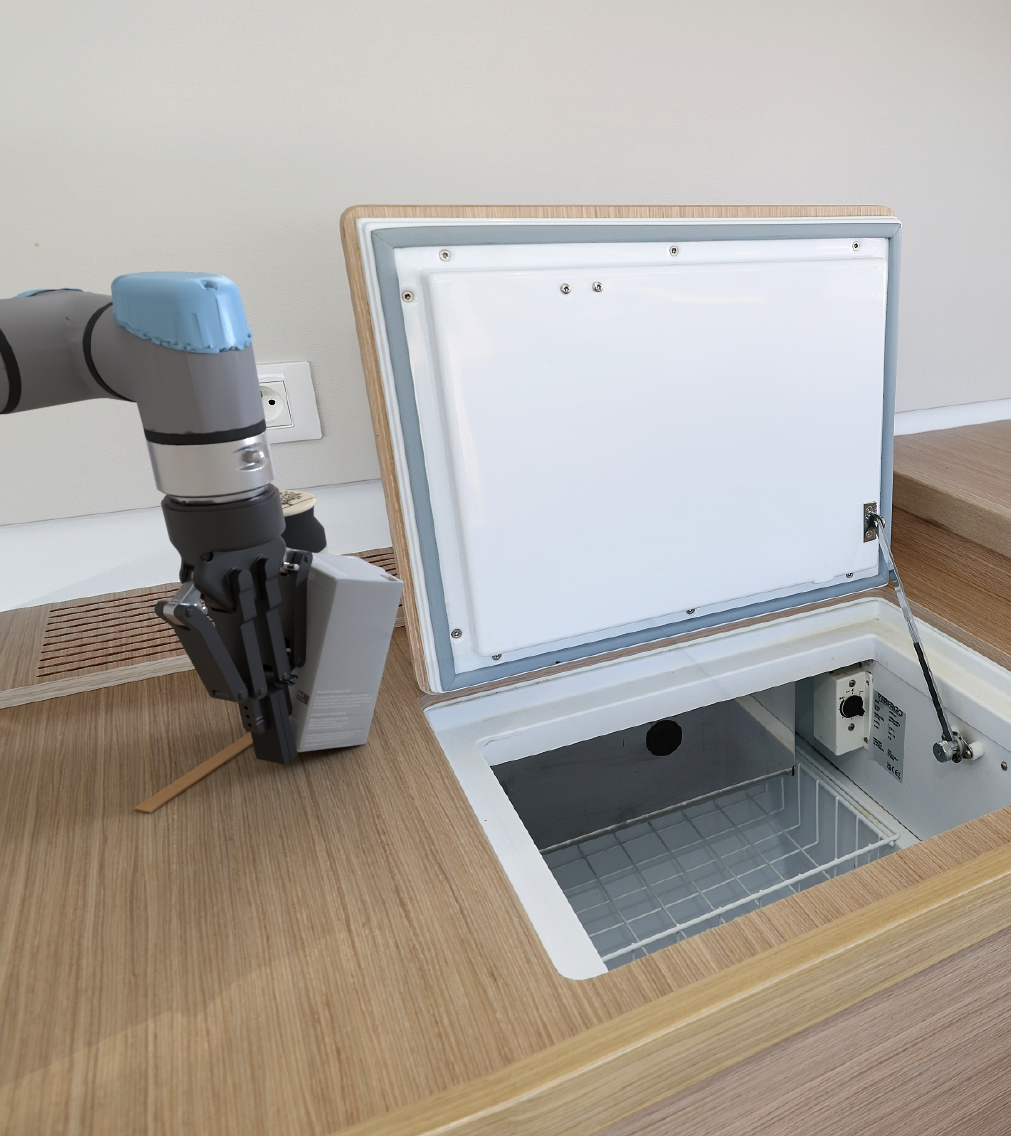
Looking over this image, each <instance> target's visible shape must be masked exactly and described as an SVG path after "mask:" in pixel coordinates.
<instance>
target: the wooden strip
mask: <svg viewBox="0 0 1011 1136" xmlns="http://www.w3.org/2000/svg"><path fill="white" fill-rule="evenodd" d="M252 745H253V740H252V736H251V732H247V733H246V734H245V735H243V736H242V737H240V738H238V739H237V740H235V741H233V743H231V744H229V745H227V747H225V748H223V749H222V750H220V751H219V752H217V753H216V754H214V755H212V756H211V757H210V758H208V759H207V760H205V761H204V762H202V763H201V764H199V765H197V766H196V767H194V768H193V769H191V770H190V771H188V772H186V773H185V774H184V775H182V776H180V777H179V778H178V779H176V780H174V781H173V782H172V783H169V784H168V785H166V786H165V787H164V788H162V789H161V790H159V791H158V792H156V793H155V794H153V795H152V796H150V797H148V798H147V799H145V800H144V801H142V802H140V803H138V805H136V806H135V807H134V808H133V809H134V811H137V812H143V813H146V814H152V813H154V812H155V811H156V810H158V809H159V808H160V807H162V806H164V805H165V804H167V803H168V802H169V801H171V800H173V799H174V798H175V797H177V796H178V795H180V794H181V793H183V792H184V791H186V790H187V789H188V788H190V787H192V786H193V785H195V784H196V783H198V782H200V781H201V780H203V779H204V778H205V777H206V776H208V775H209V774H212V773H213V772H214V771H216V770H217V769H219V768H220V767H221V766H223V765H224V764H226V763H227V762H229V761H230V760H232V759H234V758H235V757H237V756H238V755H239V754H241V753H242V752H244V751H245V750H247V749H248V748H250V747H251V746H252ZM253 746H254V745H253Z"/></svg>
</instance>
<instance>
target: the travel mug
mask: <svg viewBox="0 0 1011 1136" xmlns="http://www.w3.org/2000/svg"><path fill="white" fill-rule="evenodd" d="M279 493H280V498H281V503H282V509H283V514H284V519H285V530H284V532H283V533H282V534H281V535H280V536H281V537H282V538H283V539H284V541H285V543H286V547H287V548H290V549H296V550H303V551H310V552H311V553H321V554H330V553H329V548H328V543H327V537H326V529H325V527H324V525H323V524H322V523H321V522H320V521H319V520H318V518H316V516H315V505H316V504H317V498H316V496H315V495H313V494H312V493H310V492H307V491H304V490H303V491H301V490H296V489H279Z"/></svg>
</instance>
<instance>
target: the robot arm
mask: <svg viewBox="0 0 1011 1136" xmlns="http://www.w3.org/2000/svg"><path fill="white" fill-rule="evenodd" d="M110 290H111V291H110V292H111V294H103V293H98V292H97V293H96V292H92V291H84V290H83V289H81V288H73V287H72V288H71V287H64V288H38V289H29V290H26V291H23V292H21V293H18V294H17V295H15V296H13V297H10V298H0V416H1V415H11V414H17V413H21V412H28V411H34V410H38V409H39V410H40V409H44V408H51V407H55V406H61V405H67V404H71V403H72V404H74V403H79V402H84V401H89V400H98V399H99V400H100V399H110V400H116V401H123V402H129V403H136V406H137V410H138V414H139V417H140V421H141V424H142V429H143V434H144V438H145V443H146V447H147V452H148V456H149V460H150V466H151V469H152V474H153V478H154V483H155V488H156V490H157V491H159V492H161V493H162V494H164V496H163V498H162V499H161V501H160V507H161V511H162V515H163V519H164V522H165V527H166V531H167V534H168V535H167V536H168V539H169V542H170V543H171V545H172V546H173V547H174V549H175V550H176V551H177V552H178V554H179V556H180V568H179V573H178V578H179V582H180V583H181V585H180V587H179V588H178V589H177V591H176V592H175V594H174V595H173V597H172V598H171V599H170V600H166V599H161V600H158V601H157V602H156V603H155V605H154V609H153V611H154V613H155V615H156V617H159V618H160V619H161V620H162V621H163V622H165V623H166V624H168V625H169V626H170V627H171V628H172V629H173V631H174V633H175V634H176V636H177V638H178V640H179V642H180V644H181V647H183V649H184V652H185V654H186V655H187V657H188V659H189V661H190V662H191V664H192V666H193V667H194V670H195V672H196V673H197V675H198V677H199V679H200V681H201V682H202V684H203V686H204V687H205V689H206V691H207V693H208V695H209V696H210V698H211V699H217V700H221V701H226V702H233V703H237V706H238V710H239V714H240V718H241V723H242V728H243V729H244V730H245V732H247V733H249V732H251V736H252V740H253V749H254V753H255V757H256V760H259V761H264V762H269V763H270V762H271V763H275V764H280V765H286V764H287V763H288V762H290V761H291V760H293V759H294V758H296V757H297V756H298V755H297V751H296V749H295V744H294V739H293V734H292V729H291V724H290V719H289V716H290V715H291V714H292V703H291V698H290V693H289V688H288V685H289V686H293V685H295V684H296V683H297V682H298V679H299V675H294V674H291V672H292V671H293V670H294V669H295V668H296V667H297V668H300V667H302V666H303V665H304V664H305V661H306V618H307V578H308V575H309V571H310V568H311V564H312V561H313V555H312V553H311V552H310V551H303V550H296V549H290V548H287V547H286V543H285V541H284V539H283V538H282V537H281V536H280V535H281V534H282V533H283V532H284V530H285V519H284V514H283V509H282V503H281V498H280V493H279V490H280V489H279V488H278V487H277V486H275V484H274V483H272V482H273V481H274V480H275V479H276V476H277V475H276V470H275V464H274V459H273V454H272V447H271V443H270V438H269V433H268V428H267V423H266V422H267V421H266V415H265V409H264V404H263V403H264V402H263V398H262V392H261V386H260V381H259V374H258V369H257V364H256V363H257V362H256V357H255V352H254V345H253V338H254V337H253V330H251V328H250V325H249V324H248V319H247V316H246V312H245V308H244V304H243V300H242V296H241V292H240V289H239V287H238V286H237V284H236V283H235V282H234V281H233V280H232V279H231V278H228V277H227V276H226V275H222V274H218V273H212V272H202V271H201V272H200V271H199V272H193V271H192V272H190V271H173V270H172V271H171V270H170V271H143V272H132V273H131V272H130V273H126V274H120V275H118V276H116V277H115V278H114V279H112V281H111V284H110ZM202 602H203V603H204V604H203V603H202ZM287 648H289V649H290V652H289V651H286V649H287Z"/></svg>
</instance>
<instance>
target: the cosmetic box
mask: <svg viewBox="0 0 1011 1136" xmlns="http://www.w3.org/2000/svg"><path fill="white" fill-rule="evenodd" d="M312 555H313V561H312V564H311V568H310V571H309V575H308V578H307V618H306V661H305V664H304V665H303V666H302V667H300V668H297V667H296V668H295V669H294V670H293V671H292V672H291V674H294V675H299V679H298V682H297V683H296V684H295V685H293V686H289V685H288V688H289V693H290V698H291V703H292V714H291V715H290V716H289V719H290V724H291V729H292V734H293V739H294V744H295V749H296V753H303V752H310V751H312V752H313V751H319V750H327V749H333V748H334V749H335V748H344V747H353V746H360V745H365V744H367V743H368V738H369V734H370V729H371V725H372V721H373V716H374V712H375V707H376V705H377V700H378V695H379V691H380V688H381V683H382V679H383V674H384V670H385V666H386V661H387V657H388V652H389V649H390V643H391V639H392V636H393V632H394V628H395V624H396V619H397V615H398V610H399V606H400V602H401V599H402V594H403V590H404V585H405V582H404V581H403V580H401V579H399V578H397V577H396V576H394V575H392V574H390V573H389V572H386V570H385V569H384V568H383V567H380V566H378V565H374V564H372V563H369V562H368V561H366V560H364V559H363V558H360V557H358V556H356V555H344V554H343V555H342V554H330V553H329V554H321V553H312ZM286 651H289V652H290V649H289V648H287V649H286Z"/></svg>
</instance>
